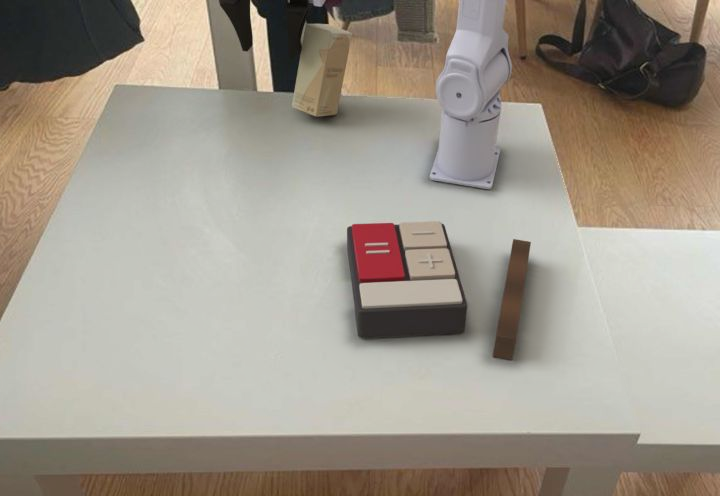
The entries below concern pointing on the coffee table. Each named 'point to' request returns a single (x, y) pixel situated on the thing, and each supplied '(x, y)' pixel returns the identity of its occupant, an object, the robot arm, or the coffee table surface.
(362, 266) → the calculator
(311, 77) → the box
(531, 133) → the coffee table surface
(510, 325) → the rail
